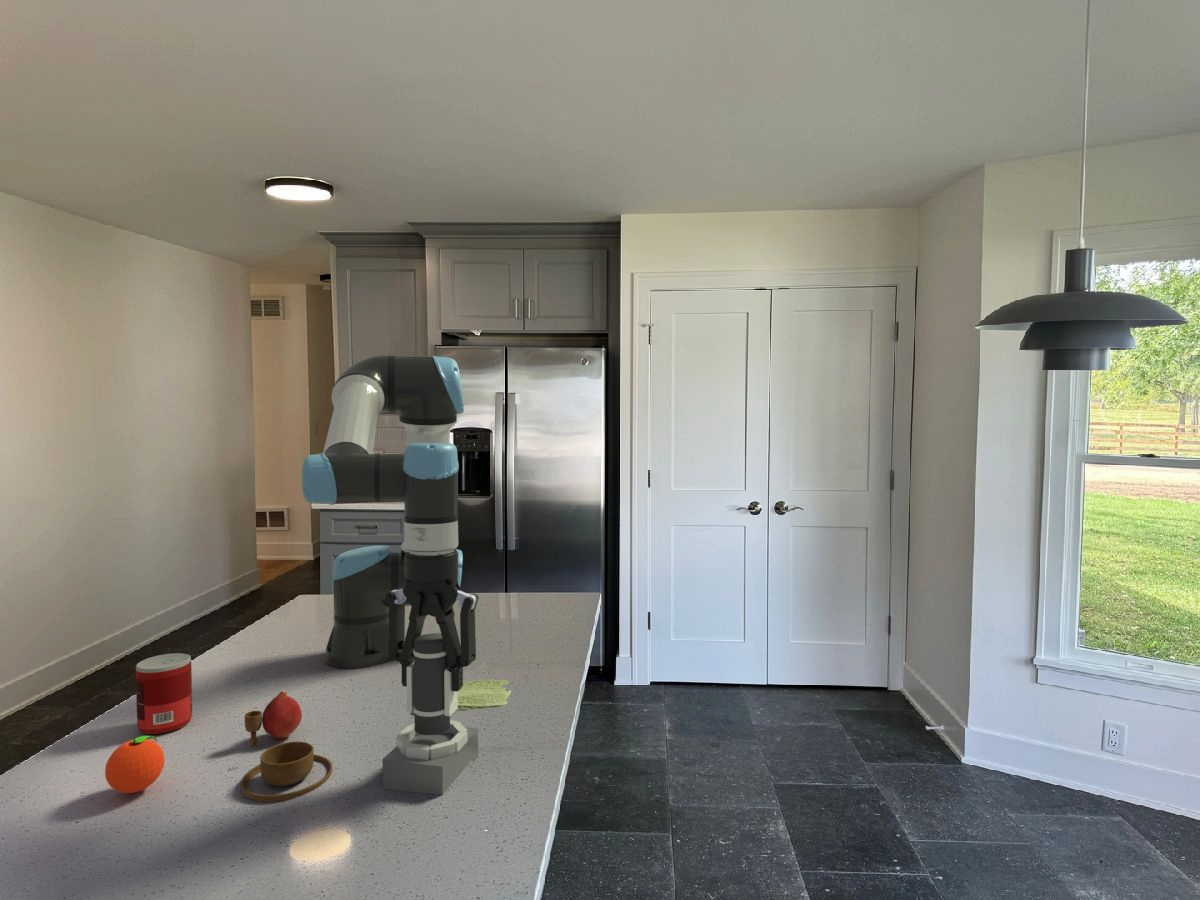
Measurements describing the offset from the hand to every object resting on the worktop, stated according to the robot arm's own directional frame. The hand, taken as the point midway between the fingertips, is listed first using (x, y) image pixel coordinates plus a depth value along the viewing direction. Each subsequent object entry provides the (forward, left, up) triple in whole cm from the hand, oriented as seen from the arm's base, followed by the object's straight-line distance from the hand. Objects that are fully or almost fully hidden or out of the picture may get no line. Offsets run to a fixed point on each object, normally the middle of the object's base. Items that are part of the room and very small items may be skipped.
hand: (432, 709), depth 100 cm
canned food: (-52, +5, -10) cm, 53 cm away
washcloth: (-6, +25, -11) cm, 28 cm away
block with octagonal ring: (0, 0, -10) cm, 10 cm away
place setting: (-22, -3, -11) cm, 24 cm away
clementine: (-39, -12, -10) cm, 42 cm away
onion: (-29, +5, -10) cm, 31 cm away
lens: (0, 0, -3) cm, 3 cm away
